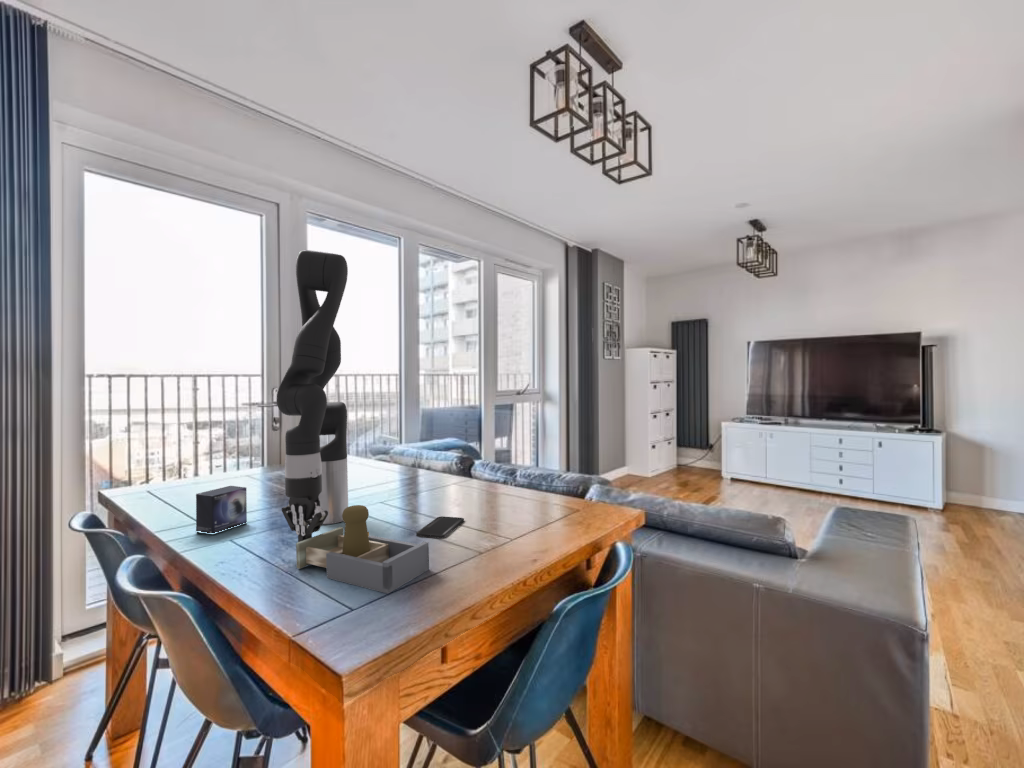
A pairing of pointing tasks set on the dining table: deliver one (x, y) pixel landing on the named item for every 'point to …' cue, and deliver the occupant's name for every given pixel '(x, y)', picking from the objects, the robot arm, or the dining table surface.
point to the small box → (221, 509)
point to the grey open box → (381, 566)
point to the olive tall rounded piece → (355, 531)
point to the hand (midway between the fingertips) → (305, 550)
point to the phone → (440, 527)
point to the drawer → (333, 549)
